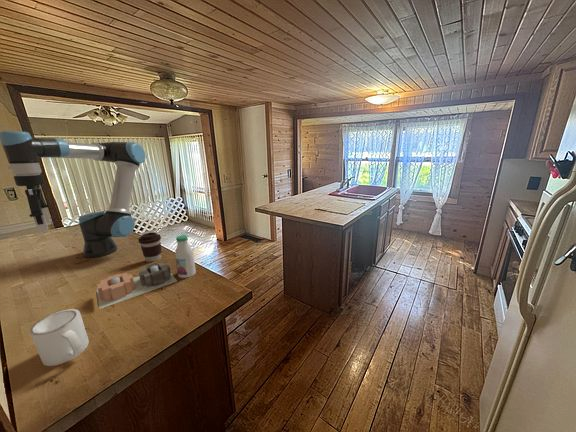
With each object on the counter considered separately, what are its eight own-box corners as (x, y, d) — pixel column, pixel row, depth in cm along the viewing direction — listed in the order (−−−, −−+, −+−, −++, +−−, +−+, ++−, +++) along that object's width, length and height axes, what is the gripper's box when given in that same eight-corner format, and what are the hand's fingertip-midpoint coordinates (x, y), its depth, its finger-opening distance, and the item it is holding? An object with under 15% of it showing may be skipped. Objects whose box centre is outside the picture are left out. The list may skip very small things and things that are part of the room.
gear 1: (99, 291, 94) (96, 280, 92) (132, 280, 101) (129, 270, 99) (101, 304, 85) (98, 293, 84) (137, 292, 93) (134, 281, 91)
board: (97, 292, 95) (92, 276, 93) (167, 270, 112) (164, 256, 110) (100, 312, 84) (95, 294, 82) (177, 284, 101) (175, 269, 99)
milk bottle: (192, 270, 113) (187, 232, 107) (198, 276, 107) (193, 236, 101) (175, 276, 107) (169, 236, 102) (182, 282, 102) (175, 241, 96)
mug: (103, 345, 70) (95, 317, 67) (61, 375, 61) (49, 343, 58) (76, 333, 75) (67, 305, 71) (34, 358, 65) (21, 328, 62)
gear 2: (138, 278, 102) (136, 268, 101) (166, 269, 110) (164, 260, 108) (144, 289, 94) (142, 279, 93) (173, 279, 102) (172, 269, 100)
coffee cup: (155, 266, 116) (150, 239, 111) (138, 264, 118) (132, 237, 113) (168, 257, 125) (164, 231, 121) (153, 255, 127) (148, 230, 123)
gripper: (18, 172, 93) (35, 221, 99) (5, 178, 75) (27, 238, 81) (45, 171, 98) (59, 218, 104) (38, 176, 80) (56, 233, 86)
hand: (45, 227), depth 93 cm, fingers open, 13 cm apart
